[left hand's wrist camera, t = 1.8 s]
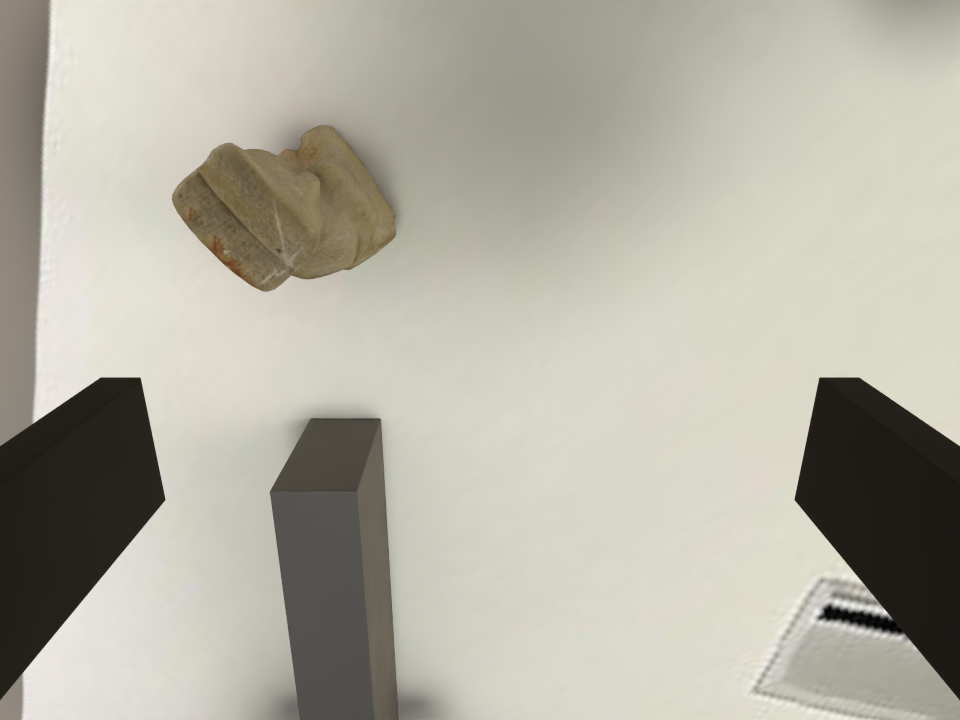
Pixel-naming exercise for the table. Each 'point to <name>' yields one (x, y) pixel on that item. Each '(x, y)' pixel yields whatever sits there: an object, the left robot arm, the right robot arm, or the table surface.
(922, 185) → the table surface
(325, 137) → the sculpture
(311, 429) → the bar
